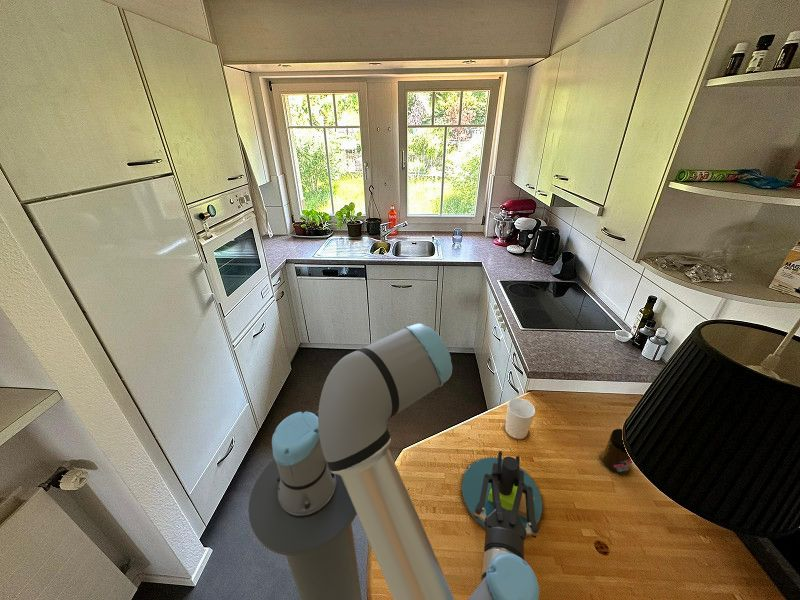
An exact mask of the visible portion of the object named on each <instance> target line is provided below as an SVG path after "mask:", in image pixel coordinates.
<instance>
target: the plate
mask: <svg viewBox="0 0 800 600" xmlns="http://www.w3.org/2000/svg"><path fill="white" fill-rule="evenodd" d="M503 459H504V458H502V461H501V467H502V462H503ZM497 461H498V457H484V458H481V459H478V460H475V461H474V462H473V463H471V464H470V465H469V466H468V467H467V469H466V470H465V472H464V474H463V476H462V482H461V495H462V499H463V503H464V505H465V507H466V509H467V511H468V513H469V514H470V515H471V517H472V518H473V520H474V521H475V522H477V523H478V524H479V525H480V526H481V527H482V528H483V529H485V530H486V527H485V524H484V521H482V520H481V519H480V518H475V517H474V512H475V507H476V506H477V504H478V503H479V501H480V495H481V490H482V485H483V479H484V475H485V474H486V473H487V474H489V475H491V474H492V467H493V464H494V463H496V464H497ZM519 470H521V471H523V472H524V484H525V485H527V486H531V487H532V490H533V497H534V513H535V521H536V523H537V525H538V524H539V522H540V520H541V517H542V514H543V500H542V496H541V493H540V490H539V488H538V486H537V484H536V483H535V481H534V479H533V478H532V477H531V476H530V475H529V473H527V472H526V471H525V470H524V469H523V468H522V467H520V466H519ZM490 490H491V483H488V488H487V494H486V499H485V505H484V508H485V510H486V513H485V514H486V516H487V515H489V514H490V513H491V512H492V511H493V509H494V506H493V502H491V501H489V500H488V497H489V493H490ZM502 508H503V507H502ZM504 509H505V508H504ZM506 510H507V509H506ZM517 516H518V518H519V519H520V521H521V523H522V524H523V526H524V528H526V524H527V519H526V518H524V517H522V516H520V515H517Z"/></svg>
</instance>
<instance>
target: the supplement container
mask: <svg viewBox="0 0 800 600" xmlns="http://www.w3.org/2000/svg"><path fill="white" fill-rule="evenodd" d="M622 429H623V428H616V429H613V430H612V432H611V434H610V437H609V439H608V442H607V443H606V445H605V448H604V450H603V453H602V455H601V460H602V462H603V464H604V465H605V467H606V468H607V469H609V470H610V471H612V472H614V473H616V474H625V473H627V472H628V471H630V469H631V466H632V464H633V462H632V461H631V459H630V457H629V456H628V454H627V452H626V450H625V447H624V444H623V440H622Z"/></svg>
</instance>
